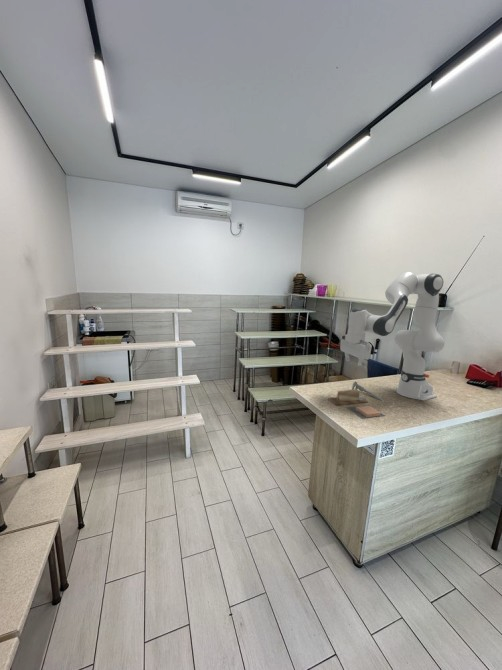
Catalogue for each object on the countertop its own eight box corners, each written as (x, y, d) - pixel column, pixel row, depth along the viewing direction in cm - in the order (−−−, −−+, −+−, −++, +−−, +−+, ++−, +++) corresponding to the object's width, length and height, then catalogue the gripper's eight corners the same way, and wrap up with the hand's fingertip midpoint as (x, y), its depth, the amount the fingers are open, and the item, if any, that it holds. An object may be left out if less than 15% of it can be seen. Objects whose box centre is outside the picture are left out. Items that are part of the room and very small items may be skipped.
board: (357, 397, 148) (358, 395, 148) (367, 403, 140) (367, 401, 140) (327, 400, 142) (327, 398, 142) (336, 406, 135) (336, 404, 134)
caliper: (351, 390, 160) (352, 380, 159) (352, 389, 160) (354, 380, 159) (383, 402, 143) (385, 392, 142) (384, 402, 144) (386, 391, 142)
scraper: (335, 398, 142) (336, 390, 141) (360, 396, 146) (361, 388, 145) (341, 402, 137) (342, 393, 136) (366, 400, 142) (367, 391, 141)
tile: (368, 405, 132) (380, 412, 125) (368, 408, 133) (380, 416, 125) (355, 406, 130) (367, 414, 123) (355, 410, 130) (366, 417, 123)
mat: (368, 406, 137) (368, 405, 137) (385, 416, 126) (385, 416, 125) (346, 408, 133) (346, 407, 133) (362, 419, 122) (362, 418, 122)
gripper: (374, 342, 128) (371, 368, 131) (348, 334, 147) (346, 358, 150) (364, 342, 126) (361, 369, 129) (339, 335, 145) (337, 358, 148)
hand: (353, 363), depth 139 cm, fingers open, 8 cm apart
